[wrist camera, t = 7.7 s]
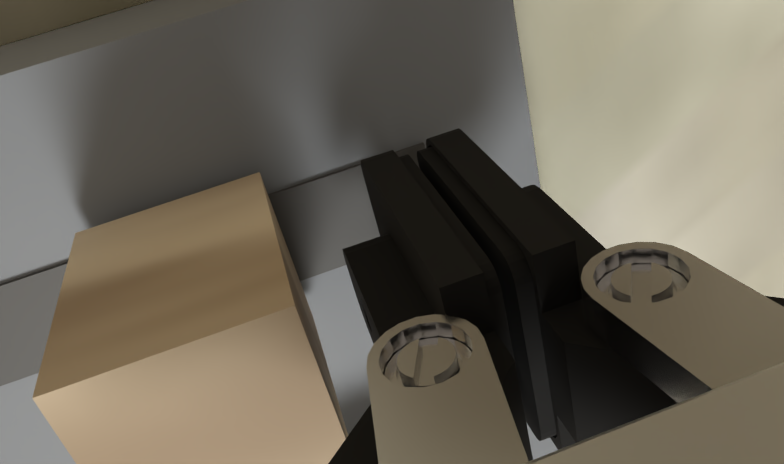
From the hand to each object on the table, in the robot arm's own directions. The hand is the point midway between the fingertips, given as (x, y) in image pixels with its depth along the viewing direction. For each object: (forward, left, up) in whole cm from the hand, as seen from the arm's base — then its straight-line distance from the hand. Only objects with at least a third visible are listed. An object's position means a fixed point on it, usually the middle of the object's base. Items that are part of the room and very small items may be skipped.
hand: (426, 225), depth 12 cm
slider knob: (0, +4, -1) cm, 4 cm away
